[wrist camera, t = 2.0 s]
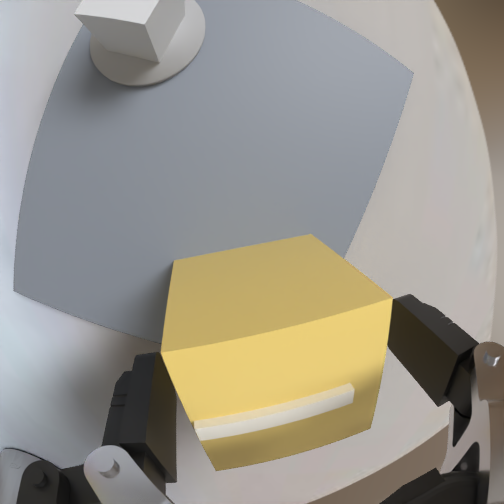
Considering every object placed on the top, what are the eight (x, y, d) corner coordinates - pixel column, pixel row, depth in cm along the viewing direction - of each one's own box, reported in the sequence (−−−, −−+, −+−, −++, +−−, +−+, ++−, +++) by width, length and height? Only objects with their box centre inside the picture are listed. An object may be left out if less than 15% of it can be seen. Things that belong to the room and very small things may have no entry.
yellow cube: (316, 342, 14) (373, 434, 8) (204, 368, 13) (216, 477, 8) (311, 234, 12) (399, 303, 6) (174, 260, 11) (159, 361, 6)
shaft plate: (279, 356, 15) (311, 428, 11) (24, 280, 12) (-30, 336, 7) (399, 76, 12) (475, 61, 7) (133, -33, 8) (114, -97, 3)
